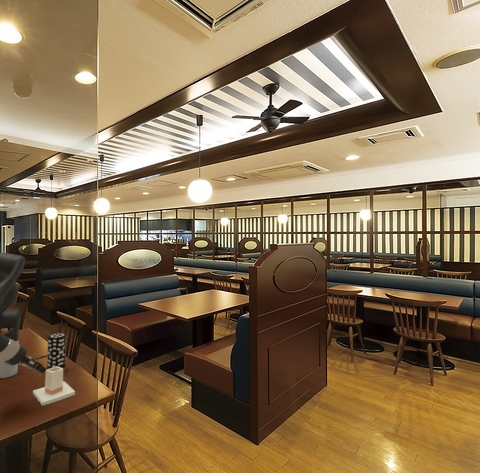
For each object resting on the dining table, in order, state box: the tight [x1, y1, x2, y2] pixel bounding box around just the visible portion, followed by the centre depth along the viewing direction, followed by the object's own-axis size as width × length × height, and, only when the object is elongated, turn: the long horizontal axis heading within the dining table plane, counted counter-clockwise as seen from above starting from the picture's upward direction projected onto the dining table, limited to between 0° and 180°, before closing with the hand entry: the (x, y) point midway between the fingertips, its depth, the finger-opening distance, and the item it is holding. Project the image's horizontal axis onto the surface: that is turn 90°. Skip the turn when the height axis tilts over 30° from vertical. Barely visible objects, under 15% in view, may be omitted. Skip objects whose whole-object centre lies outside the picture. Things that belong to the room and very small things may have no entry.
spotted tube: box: [46, 332, 67, 375], centre depth 158 cm, size 8×8×20 cm
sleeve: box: [44, 366, 64, 395], centre depth 137 cm, size 5×5×10 cm
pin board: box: [32, 380, 76, 407], centre depth 137 cm, size 14×13×8 cm
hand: (38, 369), depth 131 cm, fingers open, 8 cm apart
